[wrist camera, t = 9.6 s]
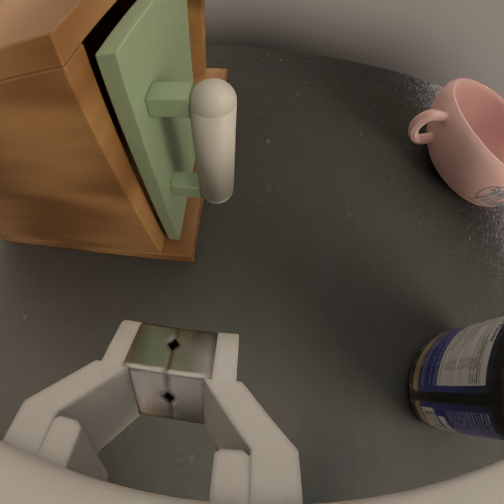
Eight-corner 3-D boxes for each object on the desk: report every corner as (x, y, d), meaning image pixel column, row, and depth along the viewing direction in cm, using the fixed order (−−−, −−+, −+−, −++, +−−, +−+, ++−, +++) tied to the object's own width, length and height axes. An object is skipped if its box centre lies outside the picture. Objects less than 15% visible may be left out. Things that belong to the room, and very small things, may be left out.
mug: (480, 132, 23) (512, 95, 18) (513, 226, 20) (559, 196, 14) (376, 105, 22) (403, 51, 17) (405, 214, 19) (453, 166, 14)
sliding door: (242, 144, 18) (256, -36, 8) (230, 245, 16) (234, 50, 6) (190, 140, 18) (169, -36, 8) (168, 239, 16) (93, 55, 5)
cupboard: (227, 78, 22) (233, -89, 9) (193, 263, 17) (122, 19, 4) (75, 82, 22) (28, -48, 9) (5, 241, 17) (-134, 121, 4)
